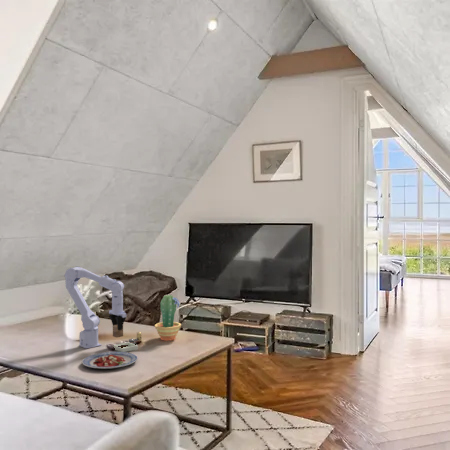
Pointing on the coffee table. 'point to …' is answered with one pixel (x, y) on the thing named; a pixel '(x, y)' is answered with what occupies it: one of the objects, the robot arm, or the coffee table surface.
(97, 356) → the ceramic plate
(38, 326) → the coffee table surface
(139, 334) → the brass cylinder knob
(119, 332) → the block
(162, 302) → the potted cactus
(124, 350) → the tray
